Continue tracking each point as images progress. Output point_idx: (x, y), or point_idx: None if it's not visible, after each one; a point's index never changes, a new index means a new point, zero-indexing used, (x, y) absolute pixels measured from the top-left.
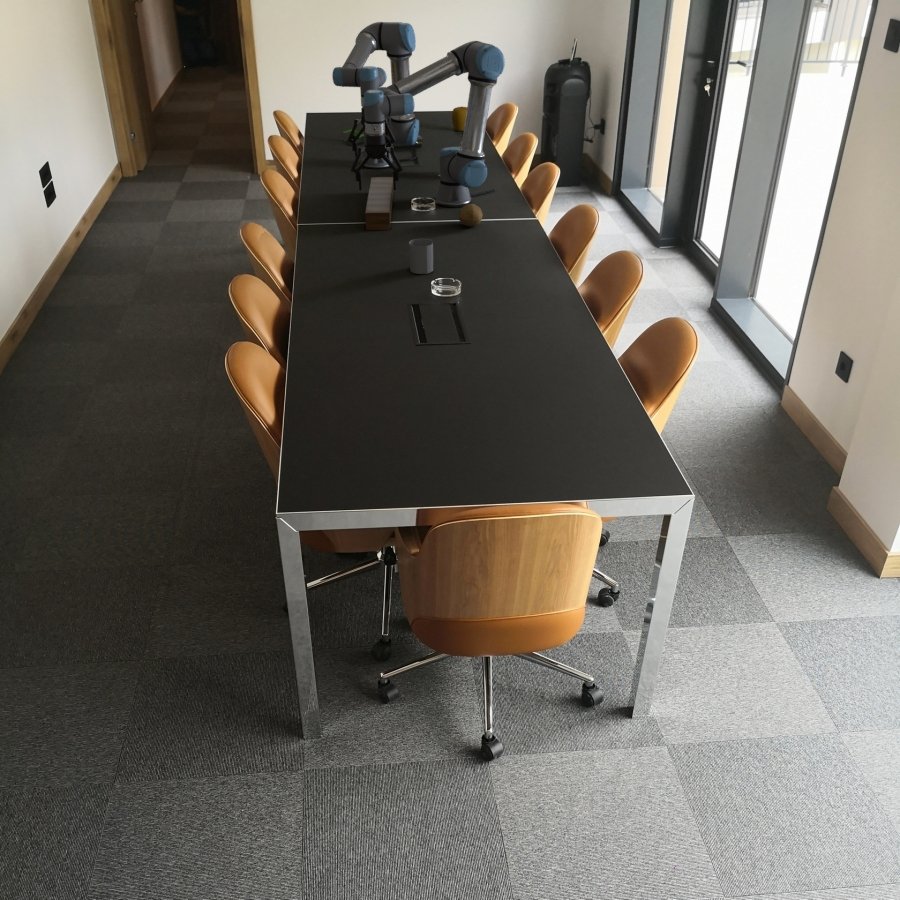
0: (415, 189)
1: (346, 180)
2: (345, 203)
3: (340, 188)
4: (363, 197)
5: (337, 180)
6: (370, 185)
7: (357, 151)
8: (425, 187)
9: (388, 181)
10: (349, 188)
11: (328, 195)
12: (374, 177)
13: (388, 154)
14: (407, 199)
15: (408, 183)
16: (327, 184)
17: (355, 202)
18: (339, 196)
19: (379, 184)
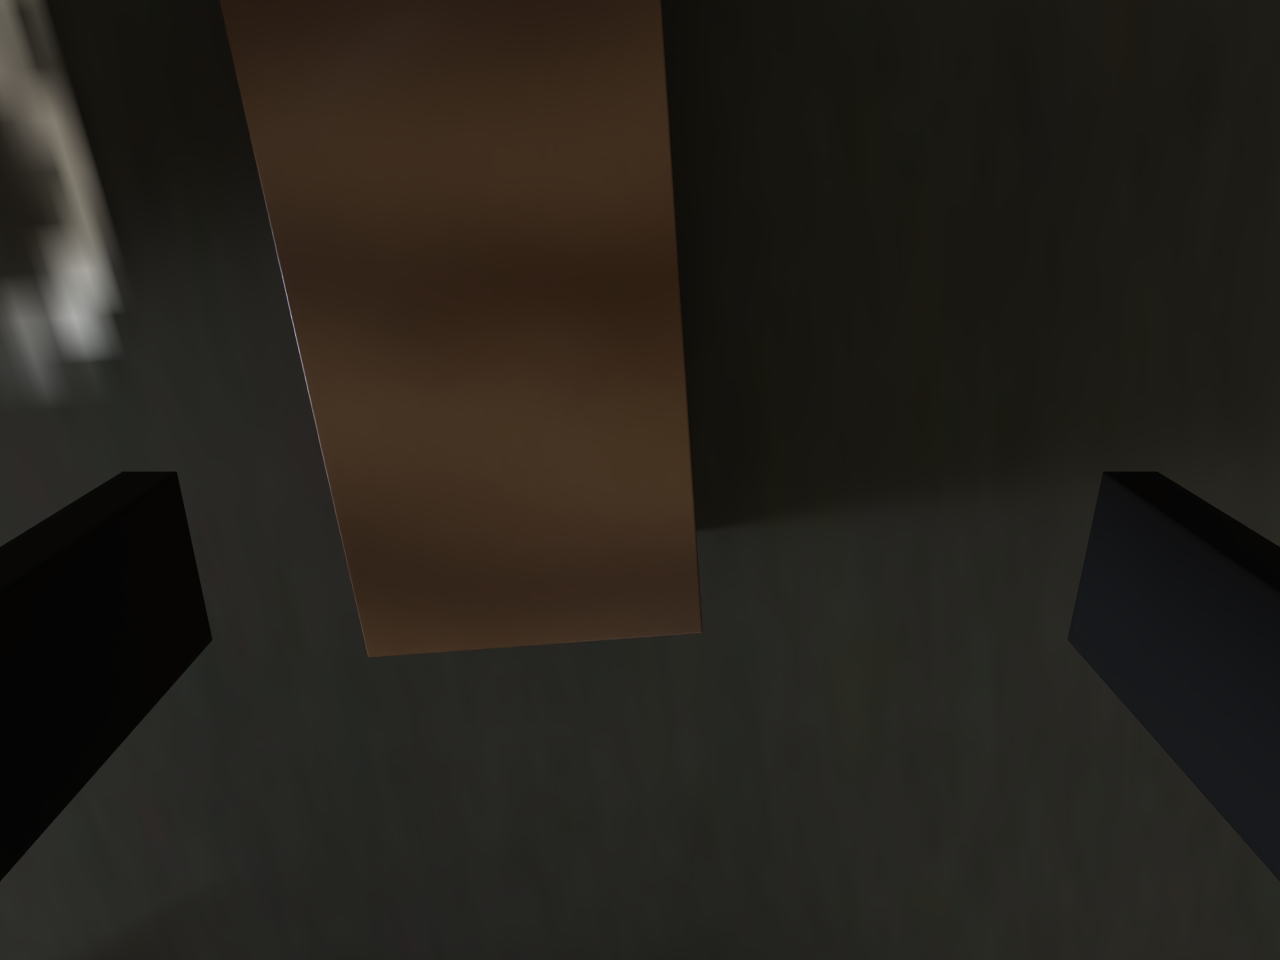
0: (194, 688)
1: (1013, 935)
2: (1026, 17)
3: (1084, 678)
4: (782, 334)
5: (1110, 931)
6: (661, 136)
7: (1194, 733)
8: None
9: (382, 419)
10: (977, 683)
11: (1251, 396)
12: (653, 624)
13: (11, 563)
14: (172, 277)
15: (332, 879)
16: None
17: (879, 81)
18: (1106, 360)
19: (504, 221)
